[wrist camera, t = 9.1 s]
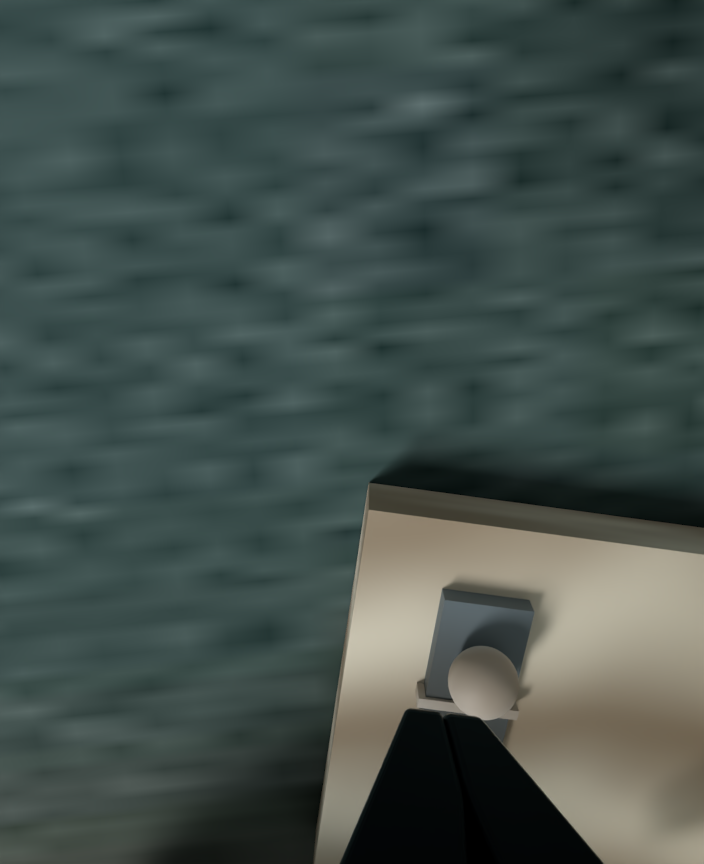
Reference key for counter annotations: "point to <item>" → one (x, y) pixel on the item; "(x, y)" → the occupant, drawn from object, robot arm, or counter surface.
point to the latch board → (531, 661)
